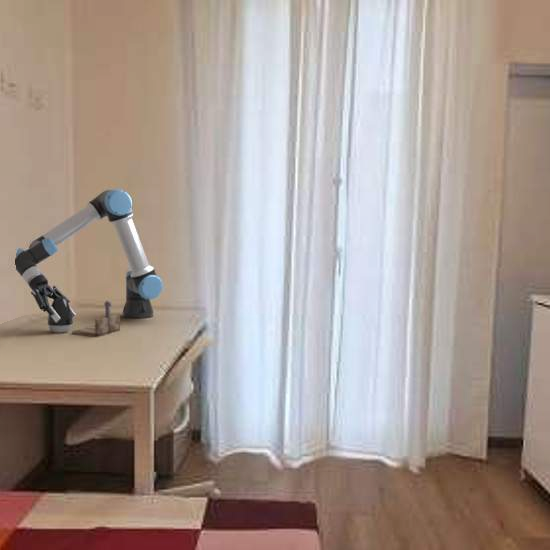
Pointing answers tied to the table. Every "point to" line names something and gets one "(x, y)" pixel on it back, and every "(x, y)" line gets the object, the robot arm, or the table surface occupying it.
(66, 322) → the pump dispenser
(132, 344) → the table surface
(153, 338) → the table surface
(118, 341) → the table surface
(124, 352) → the table surface
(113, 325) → the stand
